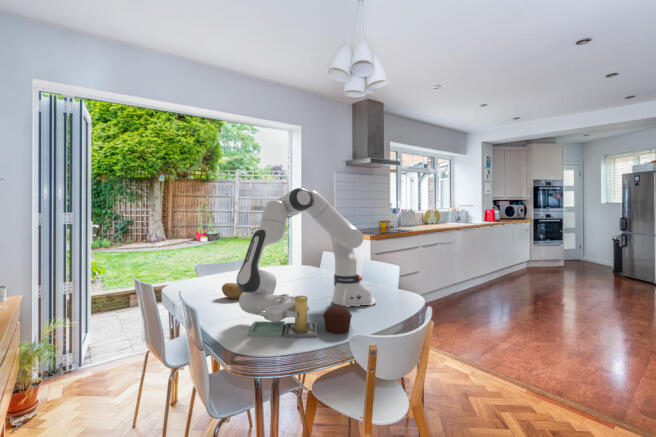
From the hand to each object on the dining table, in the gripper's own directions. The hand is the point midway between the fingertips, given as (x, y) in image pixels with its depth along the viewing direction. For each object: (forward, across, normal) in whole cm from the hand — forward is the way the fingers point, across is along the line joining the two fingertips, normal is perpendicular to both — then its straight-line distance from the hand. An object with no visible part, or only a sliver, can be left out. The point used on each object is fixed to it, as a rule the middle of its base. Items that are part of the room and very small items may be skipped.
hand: (303, 312), depth 123 cm
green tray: (-13, -5, +8) cm, 16 cm away
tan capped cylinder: (-1, 0, +8) cm, 8 cm away
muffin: (+11, +8, +9) cm, 16 cm away
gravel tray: (-1, 0, +8) cm, 9 cm away
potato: (-57, +24, +9) cm, 63 cm away
